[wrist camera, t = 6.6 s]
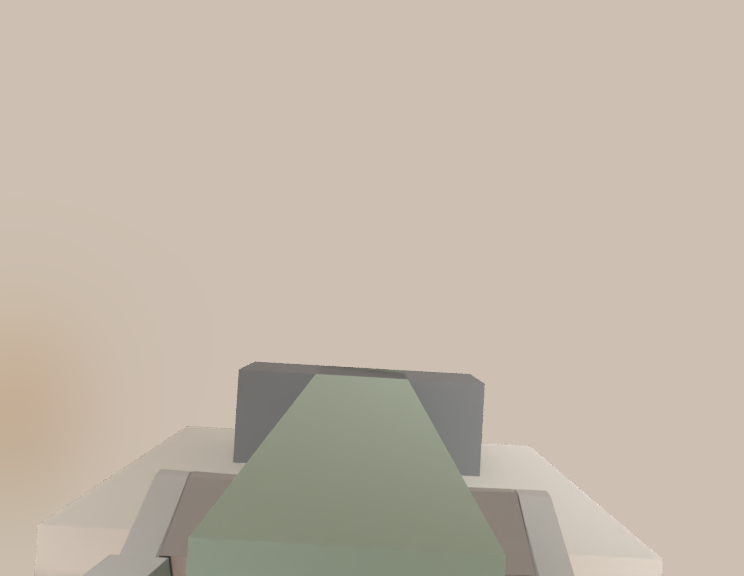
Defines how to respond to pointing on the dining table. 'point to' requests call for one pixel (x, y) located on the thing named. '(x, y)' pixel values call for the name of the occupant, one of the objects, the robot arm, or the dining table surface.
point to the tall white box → (215, 454)
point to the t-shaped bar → (350, 477)
